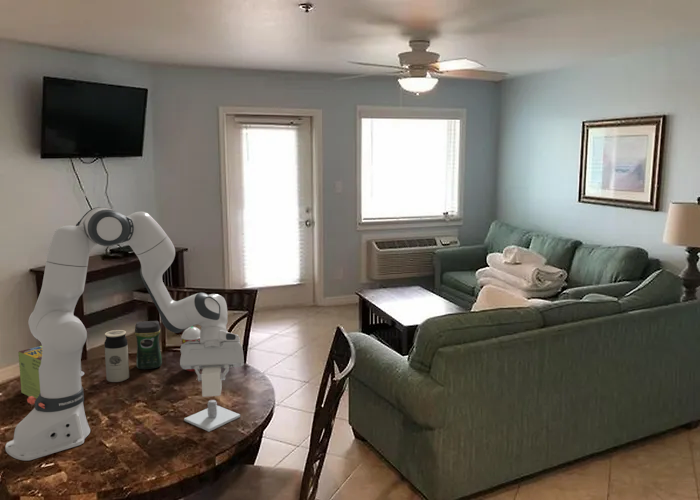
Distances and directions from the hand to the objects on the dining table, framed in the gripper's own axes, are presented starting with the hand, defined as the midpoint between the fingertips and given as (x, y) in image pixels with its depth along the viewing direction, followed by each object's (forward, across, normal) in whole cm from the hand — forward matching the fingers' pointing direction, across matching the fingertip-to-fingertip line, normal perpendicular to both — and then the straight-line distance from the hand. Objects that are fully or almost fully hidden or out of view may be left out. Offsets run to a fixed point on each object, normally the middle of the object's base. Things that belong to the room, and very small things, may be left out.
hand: (211, 379), depth 185 cm
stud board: (+9, 0, +10) cm, 13 cm away
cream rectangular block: (+3, 0, +4) cm, 5 cm away
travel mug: (-18, -38, +37) cm, 56 cm away
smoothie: (-23, -12, +42) cm, 49 cm away
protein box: (-10, -60, +29) cm, 67 cm away
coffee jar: (-26, -29, +46) cm, 60 cm away
